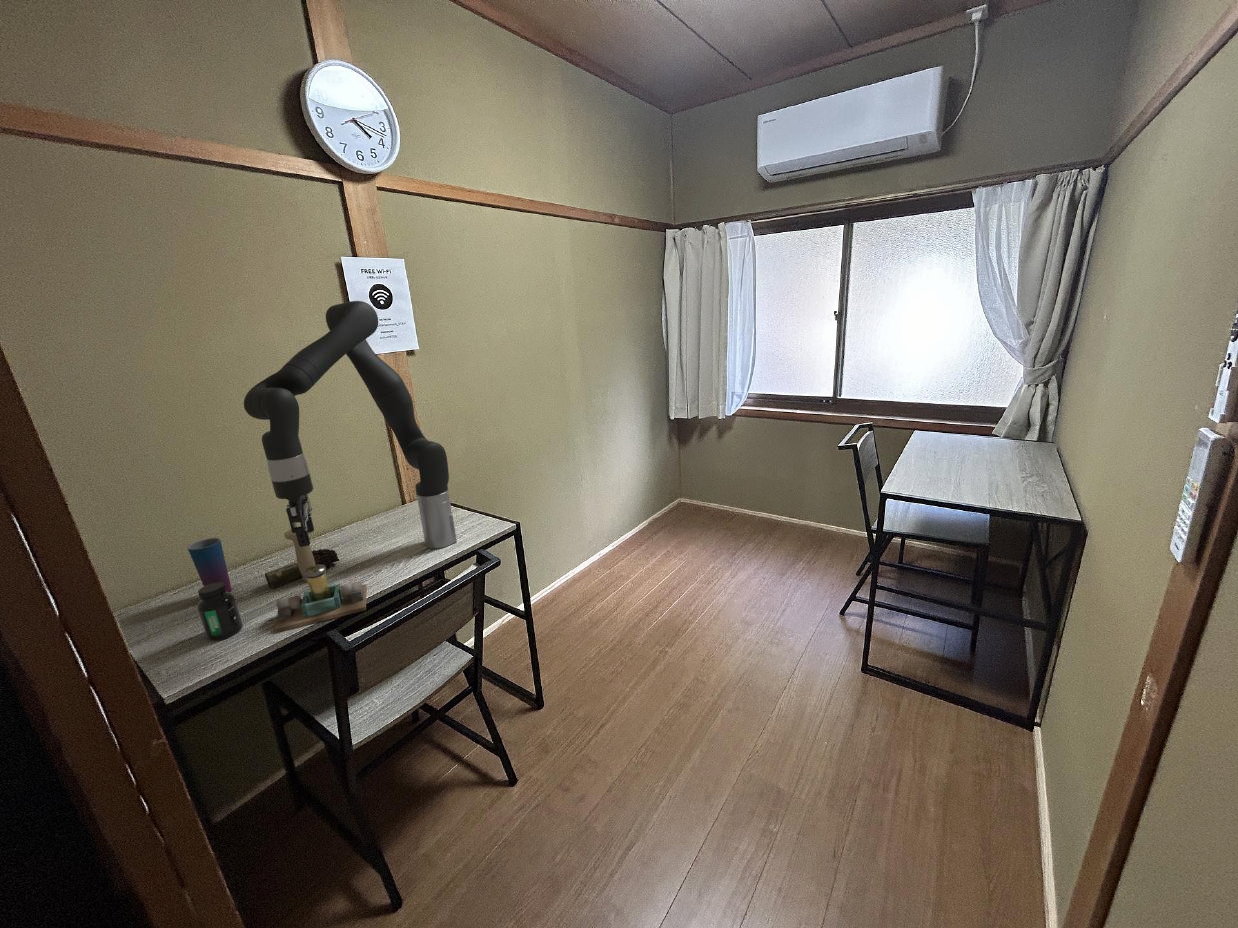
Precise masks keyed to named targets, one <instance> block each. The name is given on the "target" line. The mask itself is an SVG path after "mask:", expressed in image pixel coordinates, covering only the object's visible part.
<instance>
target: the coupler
mask: <svg viewBox="0 0 1238 928" xmlns="http://www.w3.org/2000/svg"><path fill="white" fill-rule="evenodd" d="M326 572H327V569H326V567H325V565H322V564H320V565H314V566H311V567H308V568H307V569H305V570H304V575H305V577H306V578H307V580H308V582H307V584H308V588H309V590H310V592H311V596H312V600H313V602H315V601H320V600H324V599H328V598H332V597H331V593H330V589H329V581H328V578H327V573H326Z"/></svg>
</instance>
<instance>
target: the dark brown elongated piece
mask: <svg viewBox="0 0 1238 928" xmlns="http://www.w3.org/2000/svg"><path fill="white" fill-rule="evenodd" d="M311 551H312V554H313V557H314V561H315V565H320V564H322V565H325V567H326V570H328V569H331V568H332V565H334V563H336V562H340V559H339V557H338V553H337V551H336V550H334V549H329V548H327V549H326V548H324V549H321V548H320V549H318V550H316V549H314V550H311ZM264 577H265V580H266V582H267V584H268V586H269V587H270V589H271V590H272V589H274V588H277V587H279V586H281V585H283V584H286V583H288V582H291V581H293V580H295V579H298V578H300V577H303V576H302V574H301V572H300V570H299V567H298V563H297V562H294V563H291V564H289V565H286V566H283V567H280V568H277V569H274V570H271V571H268V572H265V573H264Z"/></svg>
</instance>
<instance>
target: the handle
mask: <svg viewBox="0 0 1238 928" xmlns="http://www.w3.org/2000/svg"><path fill="white" fill-rule="evenodd" d="M311 533H312V532H309V533H308V535H309V536H310V534H311ZM283 535H284V538H285V539H286V540H290V541H292V542H293V545H294V550H295V557H296V563H298V567H299V570H300V572H301V574H302V576H301V577H302V580H303V582H307V583H308V580H307V578H306V577H305V575H304V570H305V569H307V568H308V567H311V566H314V565H315V561H314V557H313V554H312V551H313V550H312V549H311V546H310V545H311V544H310V545H309V546H304V547H300V546H299V543H298V540H297V536H296V533H292V531H291V529H289V530H287V531H285V532H284V533H283Z"/></svg>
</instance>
